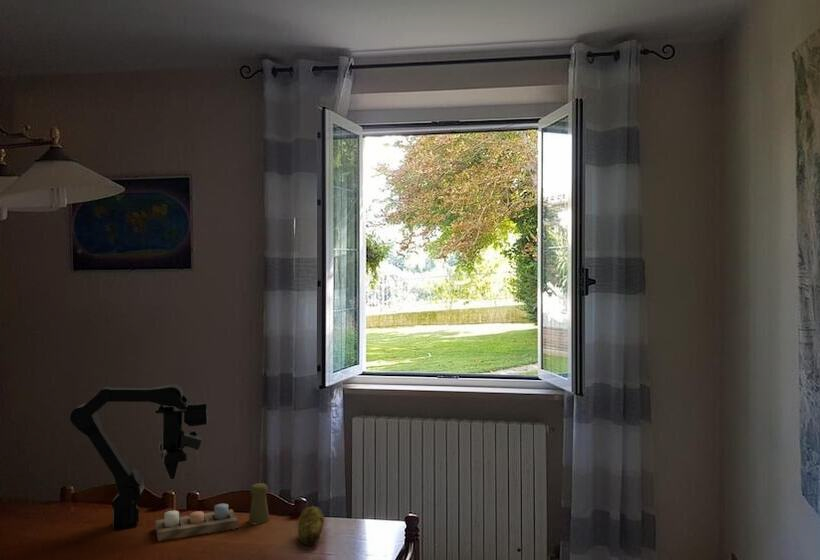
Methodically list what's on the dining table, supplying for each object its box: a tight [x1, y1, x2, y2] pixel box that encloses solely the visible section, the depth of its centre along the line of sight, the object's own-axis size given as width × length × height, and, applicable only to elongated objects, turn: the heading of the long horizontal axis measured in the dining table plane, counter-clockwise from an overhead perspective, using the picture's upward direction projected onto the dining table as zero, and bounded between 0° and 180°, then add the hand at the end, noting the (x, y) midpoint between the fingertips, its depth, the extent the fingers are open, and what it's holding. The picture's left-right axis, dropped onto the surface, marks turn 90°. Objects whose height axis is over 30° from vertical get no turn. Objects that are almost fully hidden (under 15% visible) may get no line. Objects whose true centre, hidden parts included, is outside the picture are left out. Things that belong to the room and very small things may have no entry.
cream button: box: [163, 510, 180, 528], centre depth 189 cm, size 4×4×4 cm
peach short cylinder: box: [189, 510, 204, 524], centre depth 192 cm, size 4×4×4 cm
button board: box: [155, 508, 239, 542], centre depth 192 cm, size 22×10×2 cm, turn 115°
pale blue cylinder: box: [213, 503, 229, 520], centre depth 195 cm, size 4×4×4 cm
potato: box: [297, 505, 325, 546], centre depth 185 cm, size 8×13×8 cm, turn 169°
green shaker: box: [248, 482, 270, 525], centre depth 199 cm, size 6×6×11 cm
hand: (172, 478), depth 198 cm, fingers closed
